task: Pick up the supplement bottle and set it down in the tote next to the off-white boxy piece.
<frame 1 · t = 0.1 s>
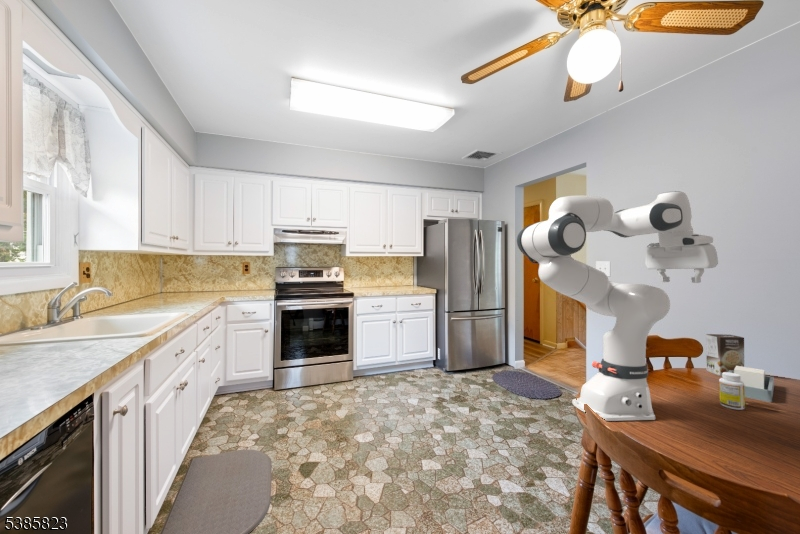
hand: (680, 282, 107), 39 cm above the table, tool pointing down, fingers open, 8 cm apart
tote: (748, 392, 112), on the table
supplement bottle: (732, 407, 101), on the table
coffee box: (725, 376, 129), on the table
off-white boxy piece: (749, 386, 115), point 1 cm above the table, touching tote
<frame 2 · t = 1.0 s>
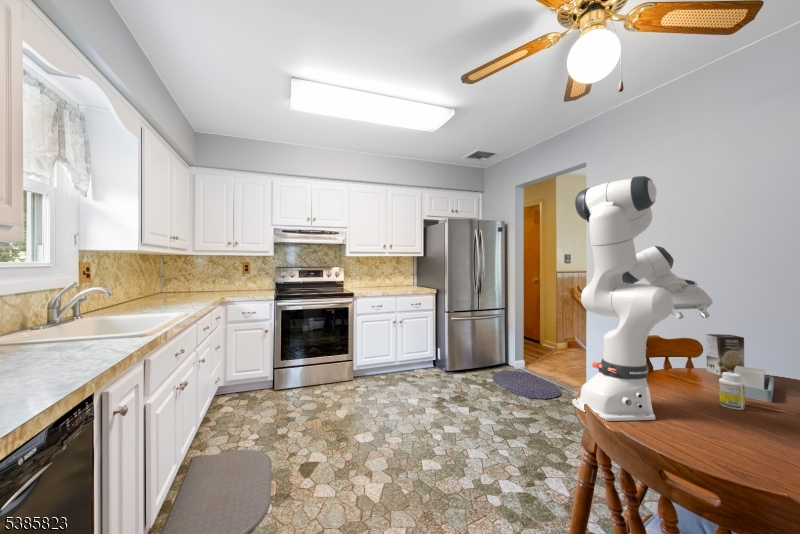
hand: (693, 317, 113), 26 cm above the table, tool tilted 45°, fingers open, 8 cm apart
nothing on the table moved.
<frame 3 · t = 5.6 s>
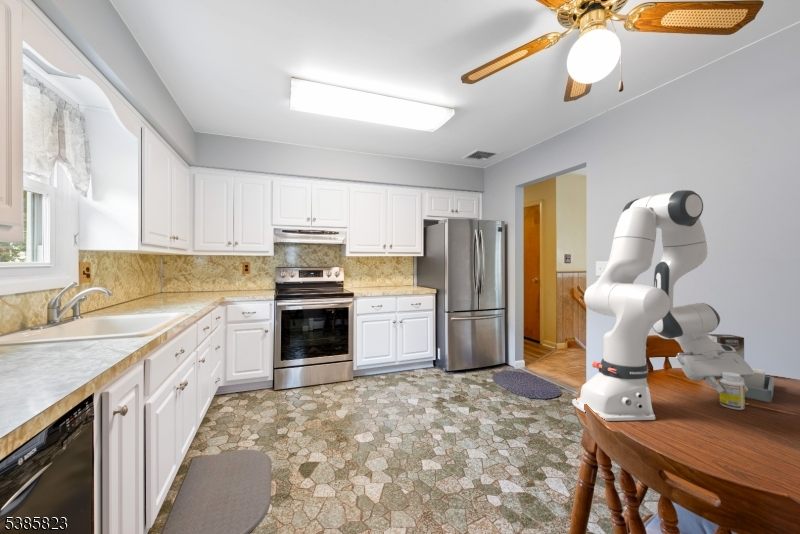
hand: (733, 391, 100), 5 cm above the table, tool tilted 45°, fingers closed on supplement bottle, 6 cm apart
supplement bottle: (732, 407, 101), on the table, touching gripper
everything else where it was.
when the fingers open (7 cm above the table, at t = 12.4 s): supplement bottle stays where it is, resting on tote.
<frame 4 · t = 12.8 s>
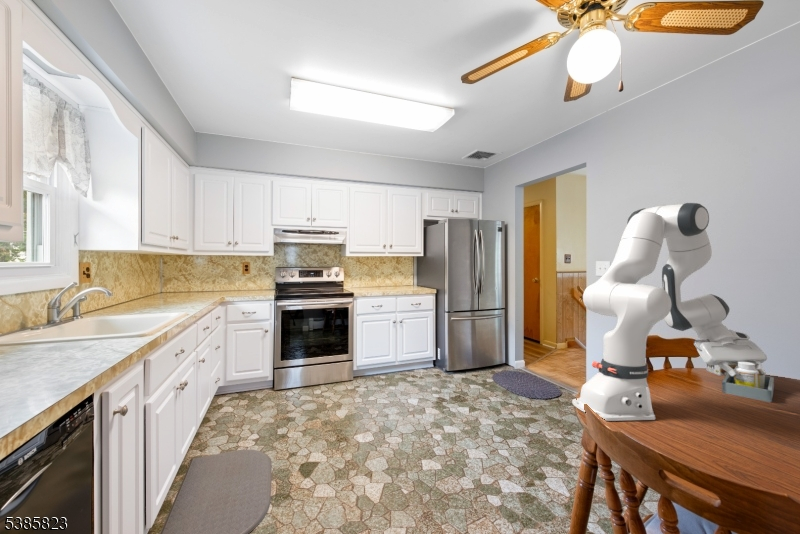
hand: (749, 375, 108), 7 cm above the table, tool tilted 45°, fingers open, 8 cm apart
supplement bottle: (747, 394, 109), point 1 cm above the table, touching tote
everything else where it was.
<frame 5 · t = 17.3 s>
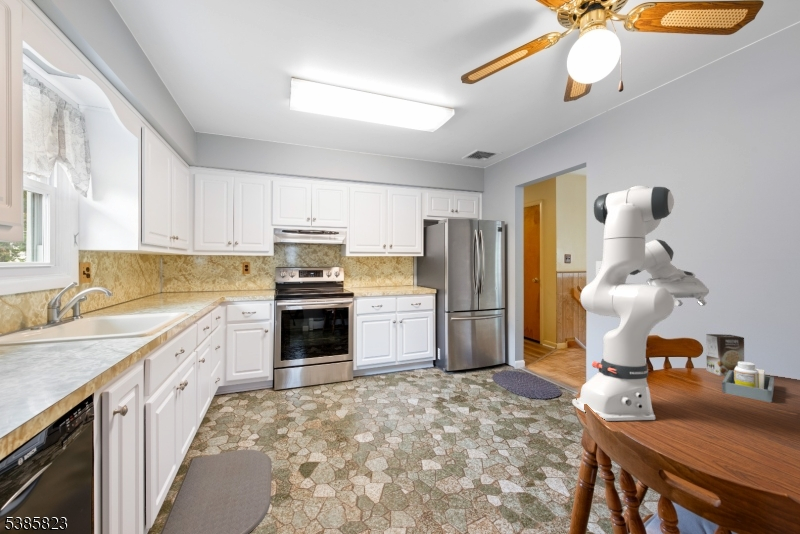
hand: (691, 304, 123), 29 cm above the table, tool tilted 45°, fingers open, 8 cm apart
nothing on the table moved.
at the end: supplement bottle 0.2 cm from the target spot, point 0.8 cm above the table; supplement bottle tilted 0°; off-white boxy piece moved 0.0 cm from its start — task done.
